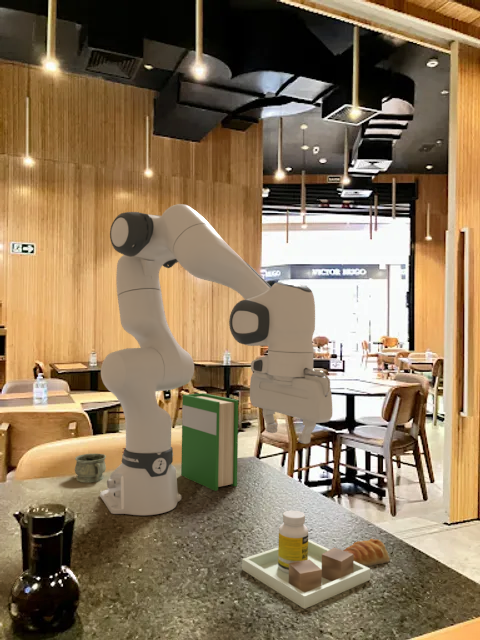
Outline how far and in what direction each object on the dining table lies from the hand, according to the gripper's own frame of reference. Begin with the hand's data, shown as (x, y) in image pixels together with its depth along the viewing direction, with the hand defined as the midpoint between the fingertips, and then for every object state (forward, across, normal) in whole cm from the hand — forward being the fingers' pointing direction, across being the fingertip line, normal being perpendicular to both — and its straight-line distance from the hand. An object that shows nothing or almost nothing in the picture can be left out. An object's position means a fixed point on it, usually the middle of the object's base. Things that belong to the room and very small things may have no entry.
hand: (287, 437), depth 100 cm
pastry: (+23, -10, -12) cm, 28 cm away
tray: (+23, -9, +2) cm, 25 cm away
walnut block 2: (+22, -12, -2) cm, 26 cm away
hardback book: (+25, +50, -15) cm, 58 cm away
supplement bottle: (+23, -6, +2) cm, 23 cm away
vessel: (+26, +70, +12) cm, 76 cm away
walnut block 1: (+22, -13, +6) cm, 26 cm away
